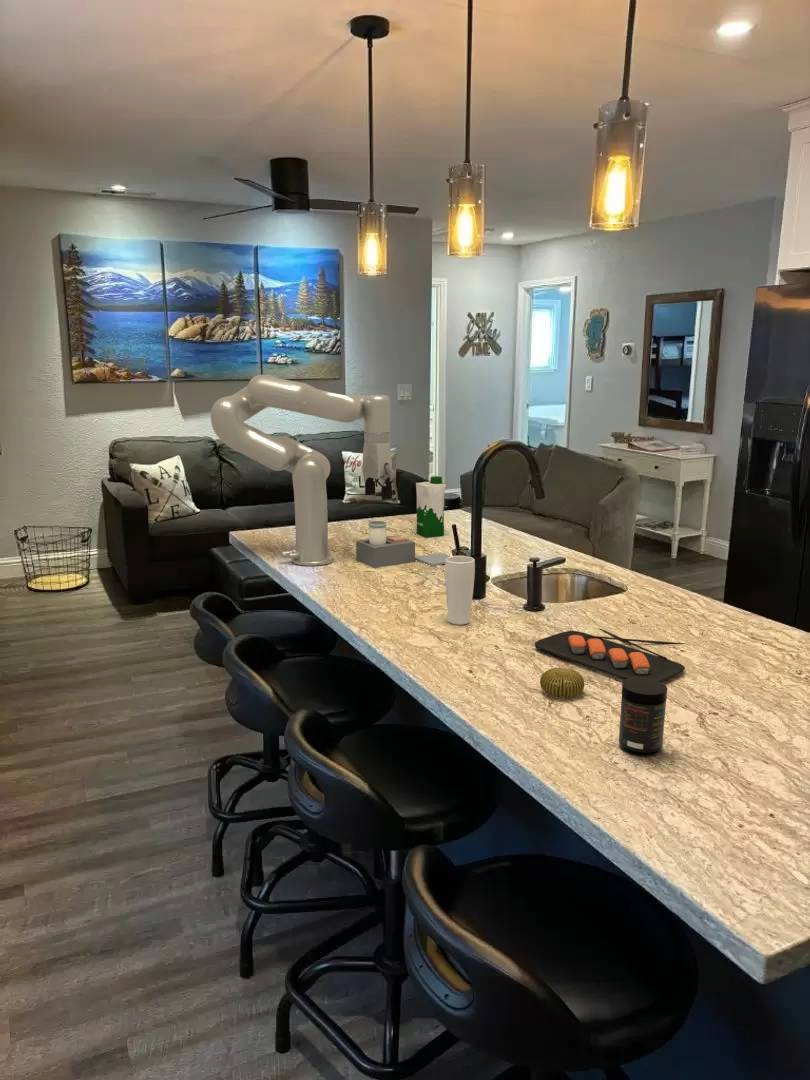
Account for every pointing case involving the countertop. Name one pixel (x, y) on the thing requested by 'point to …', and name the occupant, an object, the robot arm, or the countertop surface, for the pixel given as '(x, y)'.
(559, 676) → the sculpture
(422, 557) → the mat
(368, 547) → the box
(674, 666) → the sushi plate
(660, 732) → the supplement container
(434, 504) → the milk carton
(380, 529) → the cartridge
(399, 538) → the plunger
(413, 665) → the countertop surface
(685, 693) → the countertop surface
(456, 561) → the drinking glass
